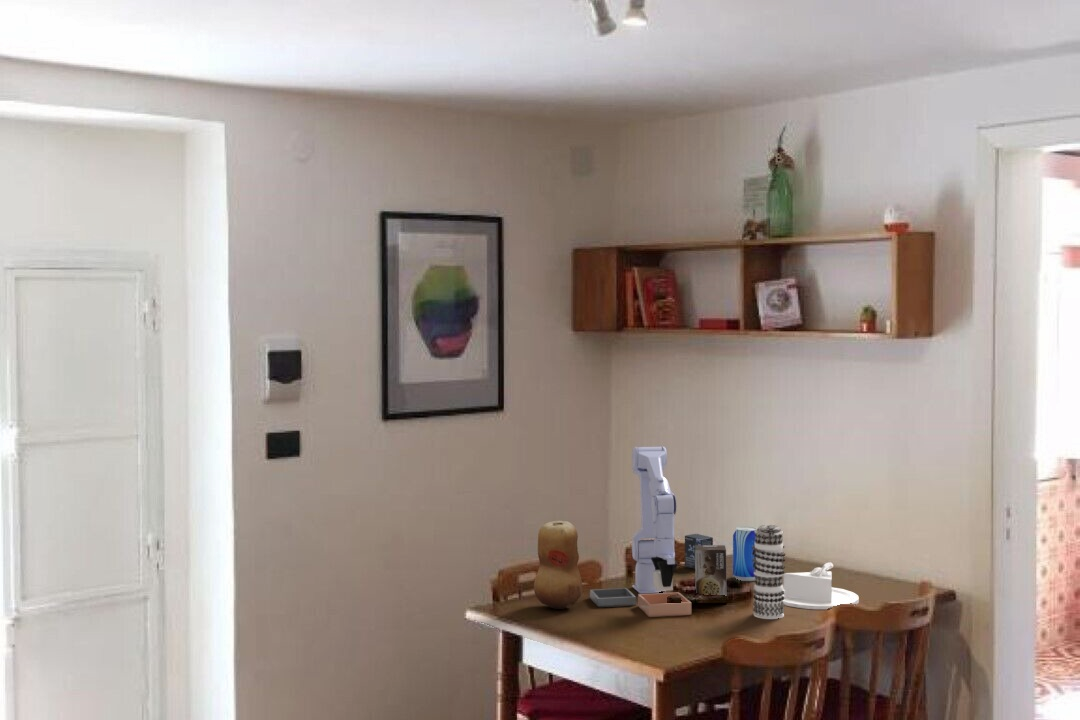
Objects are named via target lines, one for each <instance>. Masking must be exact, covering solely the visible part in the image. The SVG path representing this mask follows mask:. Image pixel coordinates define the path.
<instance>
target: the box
mask: <svg viewBox="0 0 1080 720" xmlns="http://www.w3.org/2000/svg"><path fill="white" fill-rule="evenodd" d="M695 545H714V537H712V536H708V535H704V534H699V533H692V534H691V533H690V534H687V535H684V567H685V568H690V569H694V570H695Z"/></svg>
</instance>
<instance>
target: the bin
mask: <svg viewBox="0 0 1080 720" xmlns="http://www.w3.org/2000/svg"><path fill="white" fill-rule="evenodd" d="M677 594H678V595H679V596H680V597H681V600H682V601H681V603H667V597H668V596H670V595H677ZM637 605H638V606H637V607H638V608H639V609H641V611H642V612H643V613H644V614H645V615H646V616H648V617H649V618H655V617H656V618H657V617H658V618H659V617H661V618H662V617H677V616H678V617H679V616H692V602H691V601H690V600H689V599H688V598H687V597H686V596H684V595H683V594H682V593H681V592H678V591H675V592H663V593H644V594H640V593H638V594H637Z"/></svg>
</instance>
